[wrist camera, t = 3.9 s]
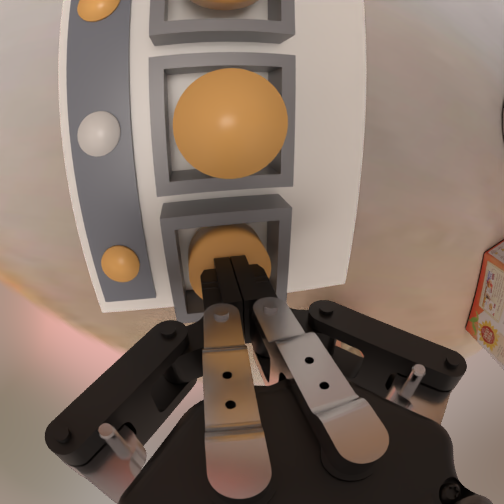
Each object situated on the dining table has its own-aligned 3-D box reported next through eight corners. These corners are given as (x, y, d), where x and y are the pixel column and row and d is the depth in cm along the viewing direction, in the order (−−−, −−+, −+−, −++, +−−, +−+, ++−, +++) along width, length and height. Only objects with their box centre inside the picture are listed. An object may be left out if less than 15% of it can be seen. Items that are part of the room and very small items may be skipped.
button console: (337, -20, 12) (380, -45, 8) (327, 262, 22) (360, 302, 17) (84, -17, 9) (55, -49, 5) (110, 286, 19) (95, 336, 15)
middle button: (272, 75, 10) (288, 69, 9) (272, 165, 12) (286, 176, 11) (173, 77, 10) (170, 71, 8) (178, 171, 12) (176, 183, 10)
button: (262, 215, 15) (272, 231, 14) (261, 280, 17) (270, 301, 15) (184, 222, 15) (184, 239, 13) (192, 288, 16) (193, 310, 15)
